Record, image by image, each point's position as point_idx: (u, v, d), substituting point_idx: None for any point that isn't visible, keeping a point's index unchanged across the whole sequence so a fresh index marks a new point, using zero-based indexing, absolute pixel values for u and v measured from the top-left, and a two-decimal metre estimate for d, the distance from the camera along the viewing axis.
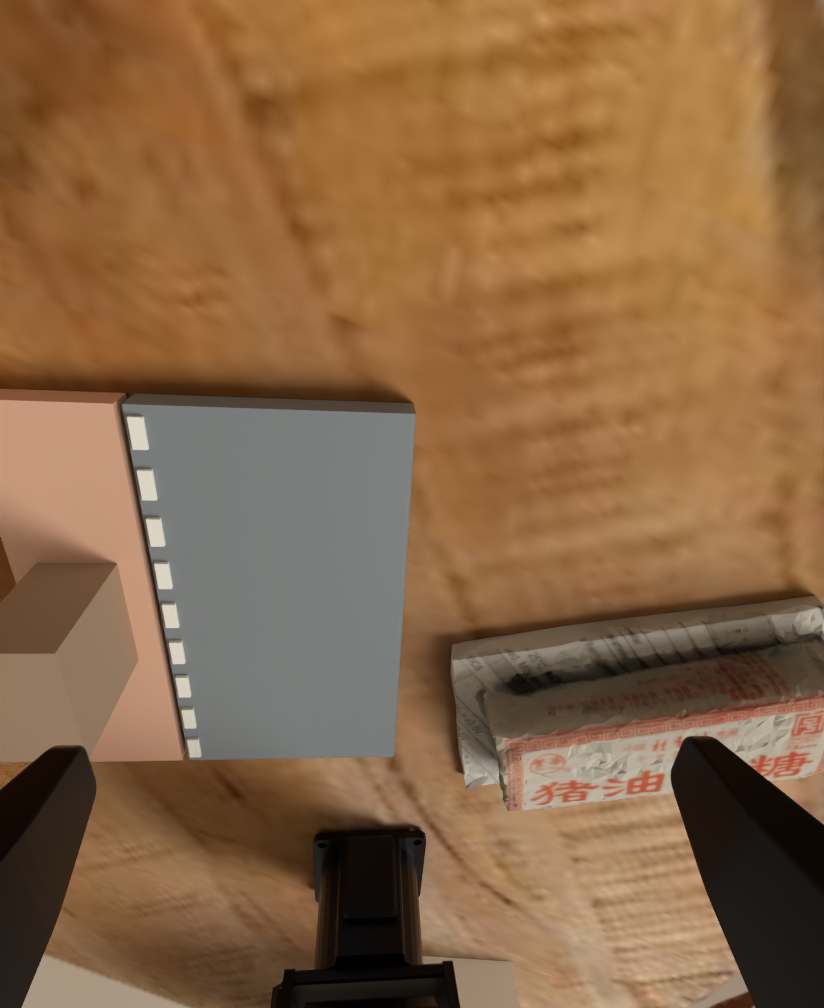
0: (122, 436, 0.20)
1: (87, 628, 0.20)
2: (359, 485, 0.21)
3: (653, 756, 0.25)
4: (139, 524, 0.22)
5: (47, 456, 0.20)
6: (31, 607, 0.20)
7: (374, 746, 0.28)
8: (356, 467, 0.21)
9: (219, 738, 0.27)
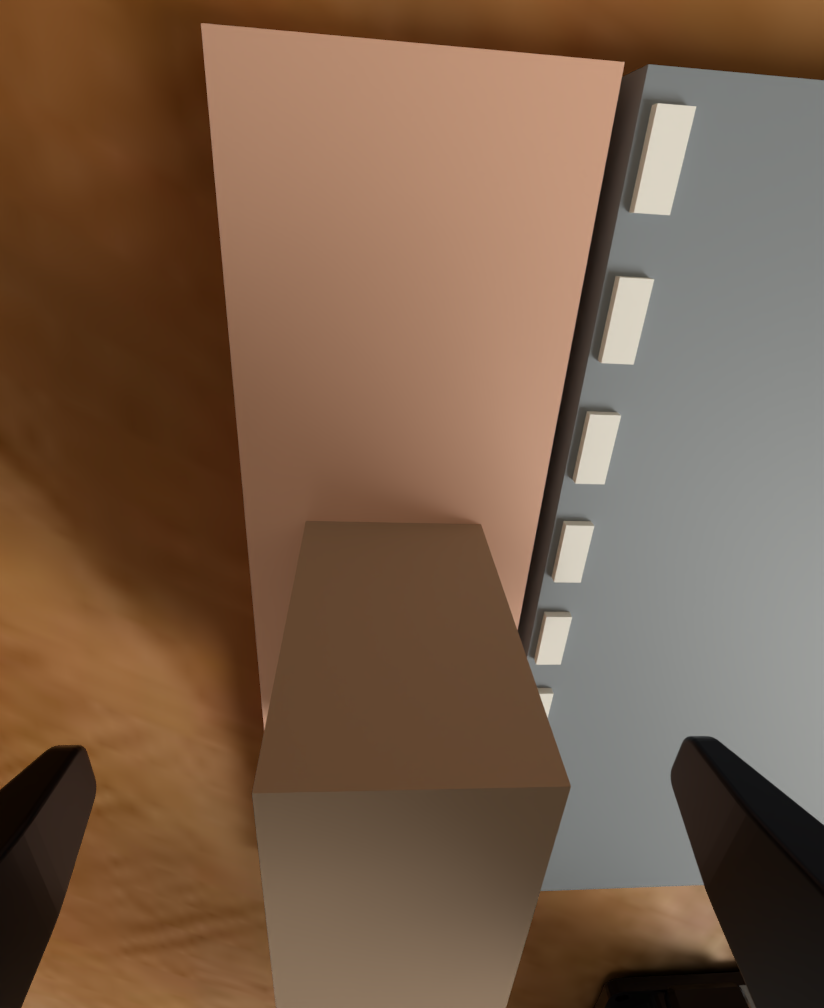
0: None
1: None
2: None
3: None
4: None
5: (405, 232, 0.08)
6: (376, 628, 0.07)
7: None
8: None
9: None
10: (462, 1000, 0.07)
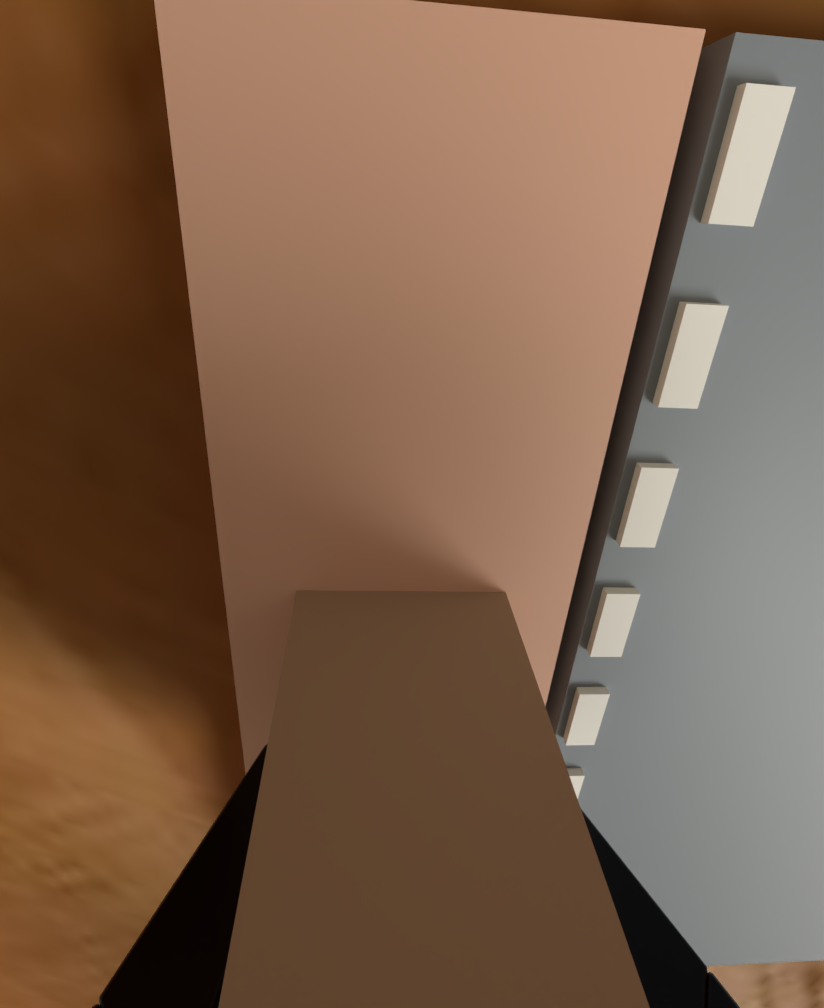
0: None
1: None
2: None
3: None
4: None
5: (420, 248, 0.06)
6: (384, 756, 0.06)
7: None
8: None
9: None
10: None
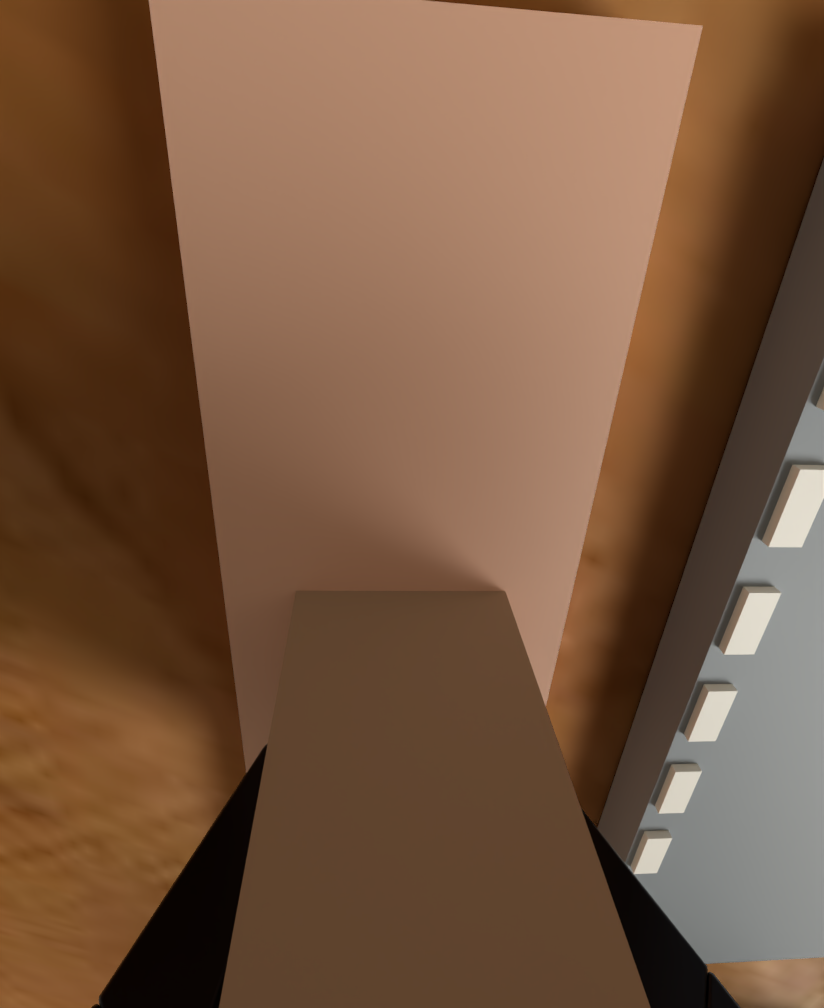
0: None
1: None
2: None
3: None
4: None
5: (417, 247, 0.06)
6: (383, 755, 0.06)
7: None
8: None
9: None
10: None
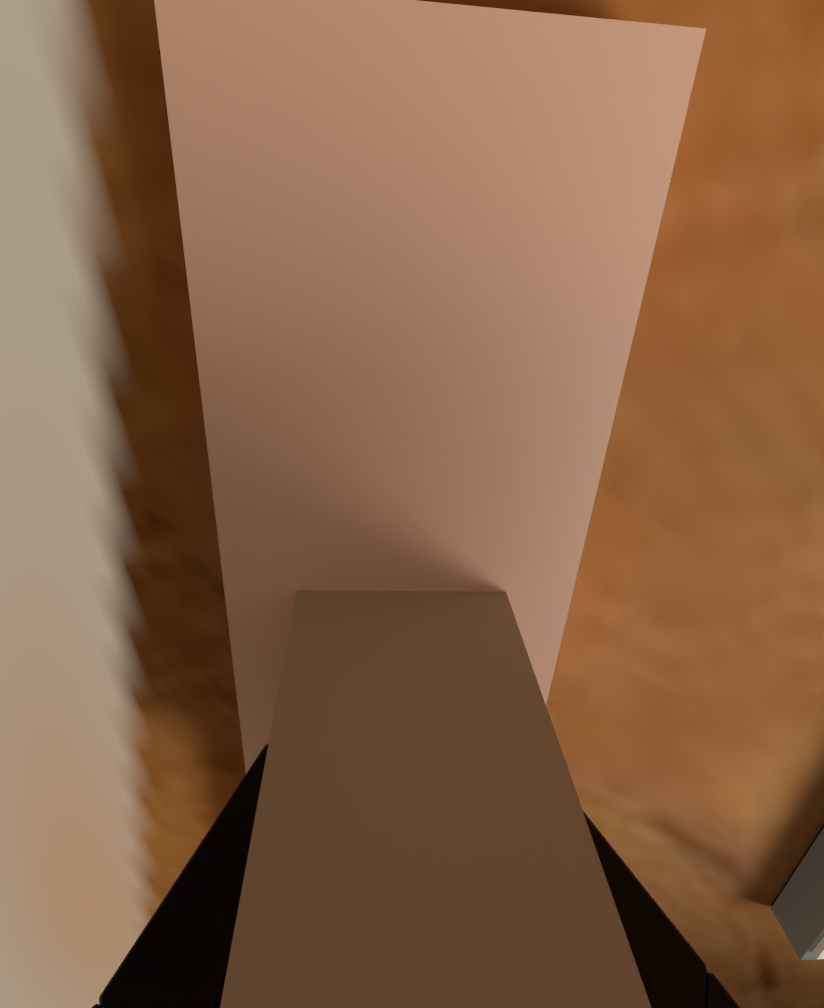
0: None
1: None
2: None
3: None
4: None
5: (420, 247, 0.06)
6: (384, 754, 0.06)
7: None
8: None
9: None
10: None
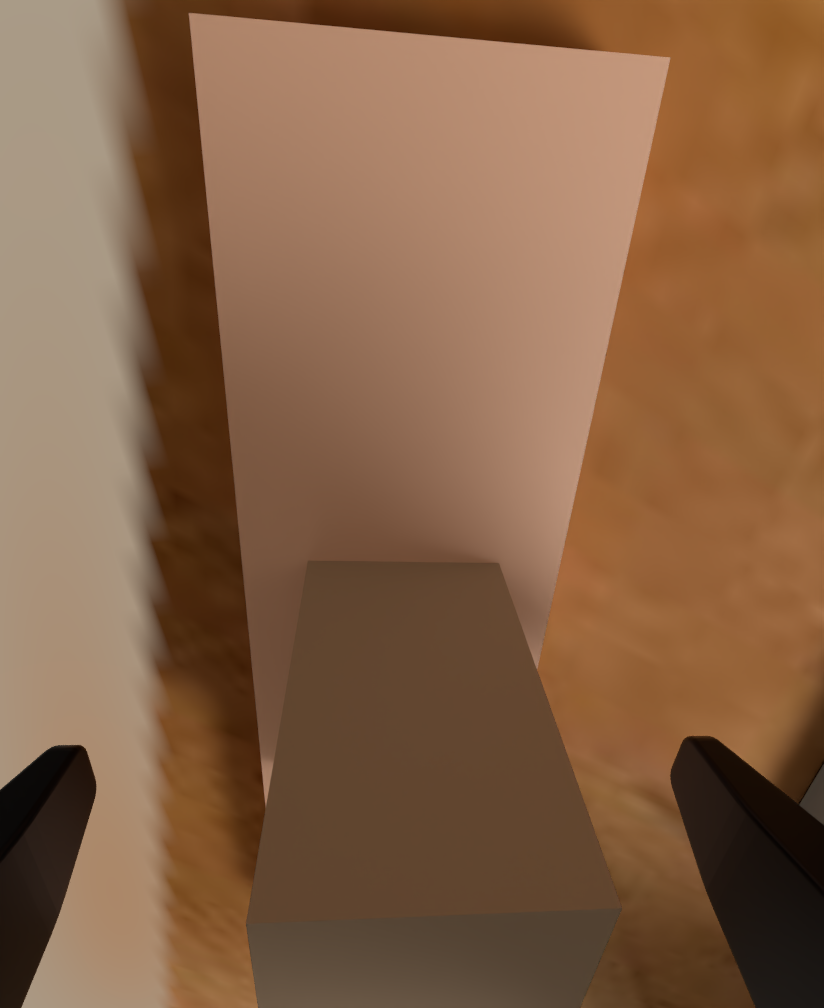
0: None
1: None
2: None
3: None
4: None
5: (420, 248, 0.07)
6: (388, 695, 0.06)
7: None
8: None
9: None
10: None
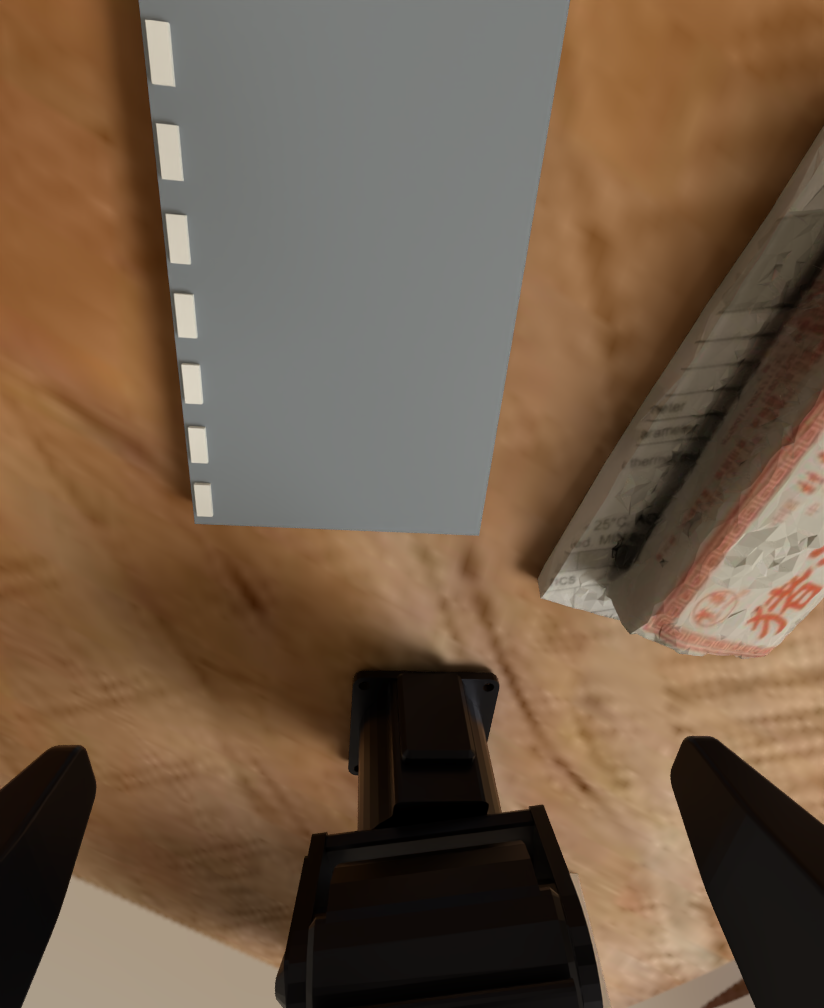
0: None
1: None
2: None
3: (822, 495, 0.17)
4: None
5: None
6: None
7: (454, 516, 0.20)
8: None
9: (239, 486, 0.19)
10: None
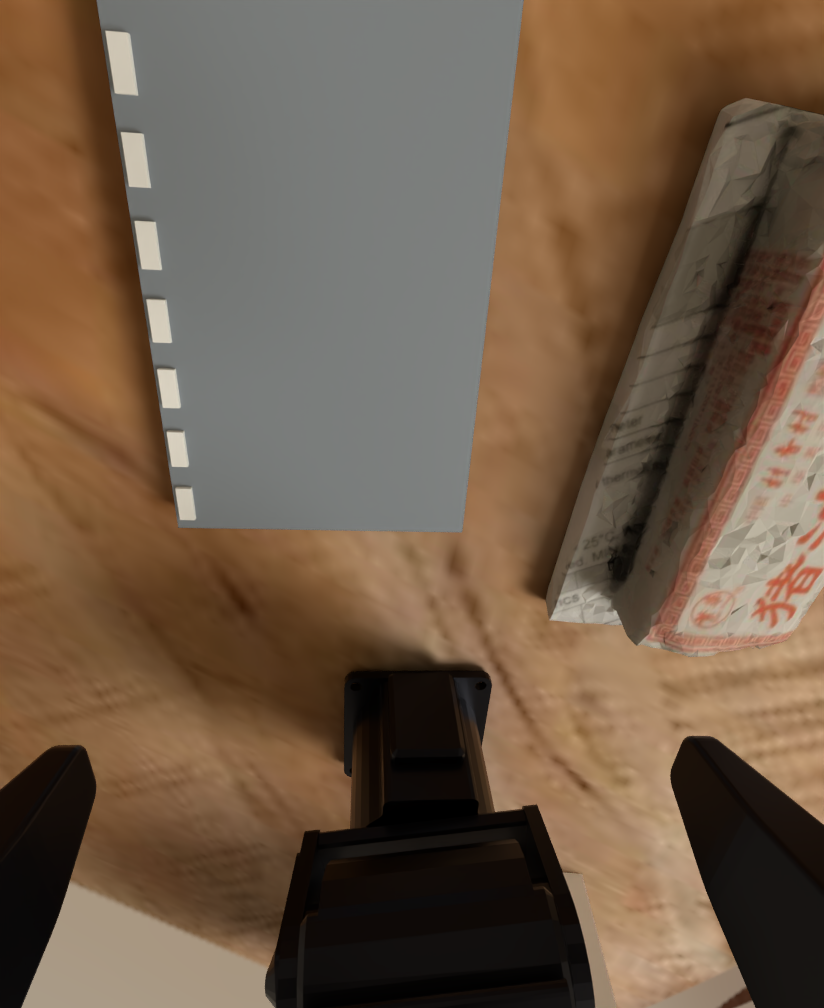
0: None
1: None
2: None
3: (792, 486, 0.17)
4: None
5: None
6: None
7: (436, 513, 0.20)
8: None
9: (220, 489, 0.19)
10: None
